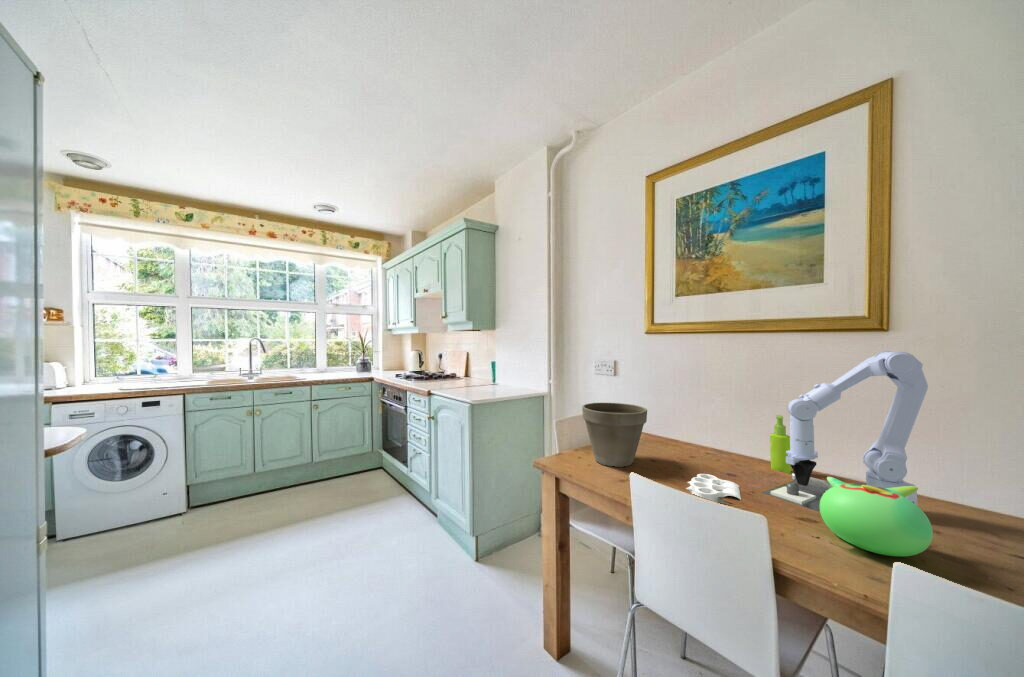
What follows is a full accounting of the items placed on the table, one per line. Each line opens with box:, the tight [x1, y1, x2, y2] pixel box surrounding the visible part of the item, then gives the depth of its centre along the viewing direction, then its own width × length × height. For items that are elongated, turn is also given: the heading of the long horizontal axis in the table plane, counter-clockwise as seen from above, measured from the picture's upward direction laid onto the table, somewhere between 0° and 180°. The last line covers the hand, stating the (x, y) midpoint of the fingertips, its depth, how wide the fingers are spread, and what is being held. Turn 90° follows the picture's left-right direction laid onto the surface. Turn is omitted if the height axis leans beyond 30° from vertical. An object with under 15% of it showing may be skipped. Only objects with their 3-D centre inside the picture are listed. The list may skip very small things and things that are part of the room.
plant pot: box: [581, 402, 648, 468], centre depth 144 cm, size 25×25×22 cm
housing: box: [761, 480, 825, 512], centre depth 108 cm, size 14×21×2 cm, turn 118°
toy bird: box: [819, 476, 934, 557], centre depth 82 cm, size 18×17×15 cm
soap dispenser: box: [769, 414, 792, 475], centre depth 131 cm, size 6×7×20 cm
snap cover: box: [770, 482, 816, 504], centre depth 106 cm, size 8×8×4 cm
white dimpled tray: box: [685, 473, 742, 506], centre depth 112 cm, size 3×18×15 cm
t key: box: [791, 472, 832, 492], centre depth 112 cm, size 11×4×3 cm, turn 28°
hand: (802, 484), depth 109 cm, fingers closed
